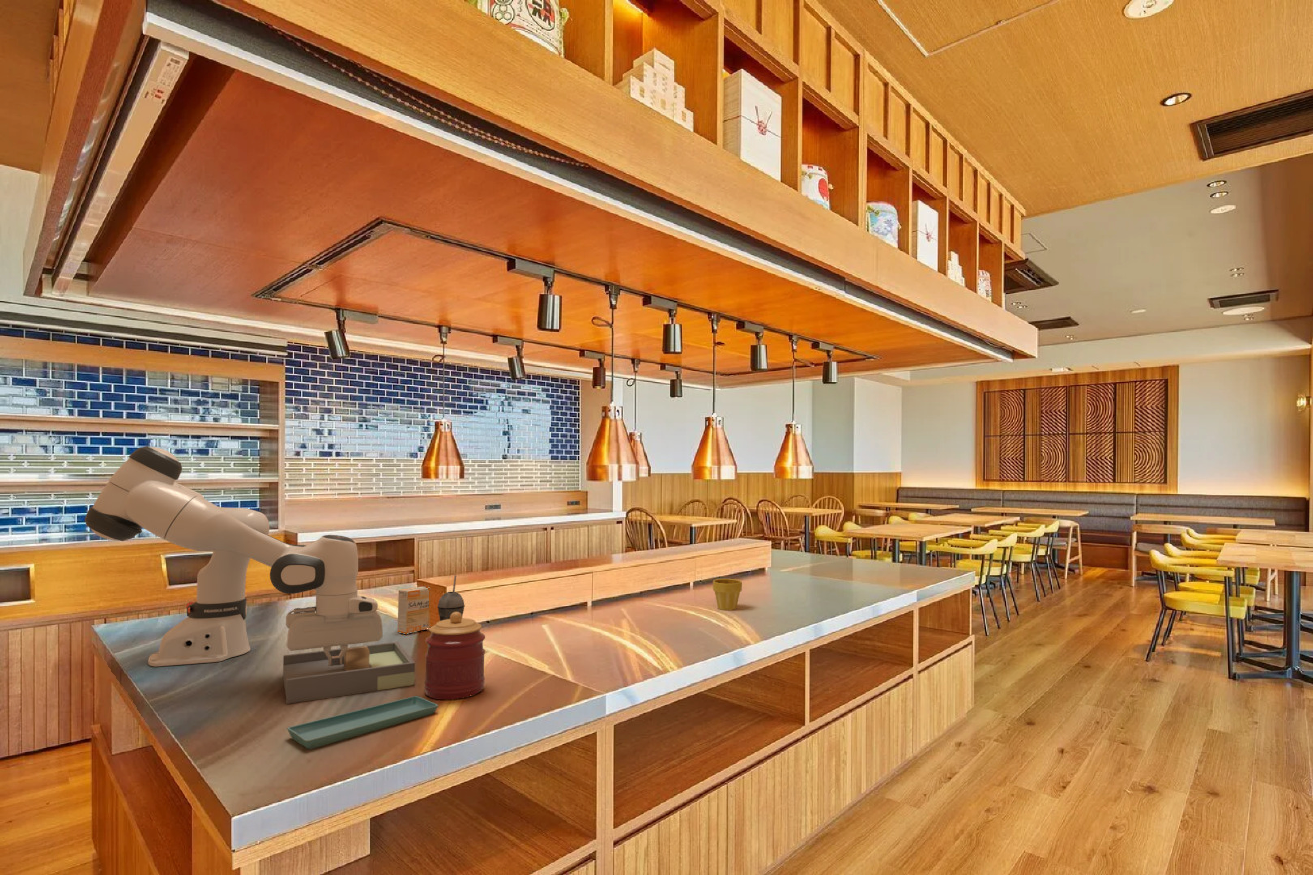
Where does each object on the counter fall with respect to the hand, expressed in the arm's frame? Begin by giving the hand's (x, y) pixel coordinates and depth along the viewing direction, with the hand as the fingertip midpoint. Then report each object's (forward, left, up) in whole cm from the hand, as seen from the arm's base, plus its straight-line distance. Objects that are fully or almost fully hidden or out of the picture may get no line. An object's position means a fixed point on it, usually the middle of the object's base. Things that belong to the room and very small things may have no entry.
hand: (335, 664), depth 160 cm
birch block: (+5, 0, -1) cm, 5 cm away
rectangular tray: (+3, -32, -5) cm, 32 cm away
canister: (+23, -20, -4) cm, 30 cm away
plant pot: (+130, +23, -4) cm, 132 cm away
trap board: (+3, 0, -4) cm, 5 cm away
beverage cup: (+31, +17, -4) cm, 36 cm away
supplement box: (+26, +42, -4) cm, 50 cm away
